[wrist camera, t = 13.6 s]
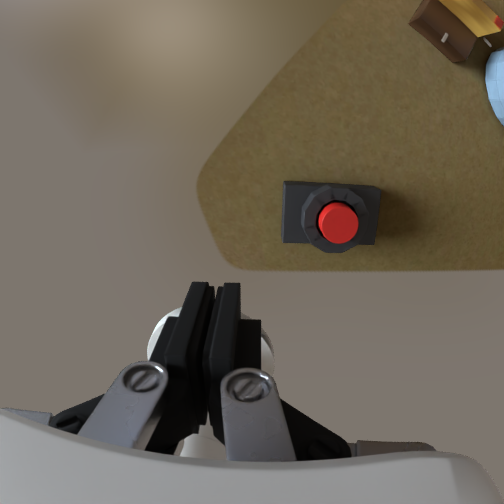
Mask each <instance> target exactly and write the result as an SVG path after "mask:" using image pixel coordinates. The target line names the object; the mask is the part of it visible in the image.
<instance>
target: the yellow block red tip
mask: <svg viewBox="0 0 504 504" xmlns="http://www.w3.org/2000/svg"><path fill="white" fill-rule="evenodd" d="M439 1H440V2H441V3H442V4H443V5H445V6H446V7H447V8H448V9H449V10H450V11H451V12H452V13H453V14H455V15H456V16H457V17H458V18H459V19H460V20H461V21H462V22H463V23H464V24H465V25H466V26H467V27H468V28H469V29H470V30H471V31H472V32H473V33H474V34H475V35H476V36H477V37H481V36H484V35H488V34H492V33H496V32H500V31H501V29H502V27H503V24H504V22H503V21H502V20H501V19H500V18H499V17H498V16H497V15H496V14H495V13H494V12H493V11H492V10H491V9H490V8H489V7H488V6H487V5H486V4H485V3H484V2H483V1H482V0H439Z"/></svg>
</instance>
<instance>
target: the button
mask: <svg viewBox="0 0 504 504" xmlns="http://www.w3.org/2000/svg"><path fill="white" fill-rule="evenodd" d="M318 224H319V228H320V230H321V231H322V233H323V235H324V236H325V238H326V239H327V240H329V241H330V242H333V243H337V244H341V243H345V242H347V241H349V240H351V239H352V238H353V237H354V236H355V234H356V232H357V230H358V224H359V223H358V218H357V215H356V214H355V212H354V211H353V210H352V209H351V208H349V207H348V206H347V205H346V204H343V203H340V202H334V203H331V204H328V205H327V206H325V207H324V208H323V209H322V211H321V212H320V214H319V218H318Z"/></svg>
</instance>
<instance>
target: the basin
mask: <svg viewBox="0 0 504 504" xmlns="http://www.w3.org/2000/svg"><path fill="white" fill-rule="evenodd" d="M485 82H486V87H487V92H488V97H489V101H490V103H491V105H492V108H493V110H494V112H495V115H496V117H497V118H498V119H499V121H500V122H501V123H502V125H503V126H504V47H501V48H499V49H497V50H495V51H494V52H492V53H491V55H490V57H489V59H488V61H487V64H486V76H485Z"/></svg>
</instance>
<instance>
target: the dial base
mask: <svg viewBox="0 0 504 504" xmlns="http://www.w3.org/2000/svg"><path fill="white" fill-rule="evenodd" d="M408 24H409V25H410V26H412V27H413V28H414V29H415V30H417V31H418V32H419V33H420V34H421V35H423V36H424V37H425V38H426V39H427V40H428V41H430V42H431V43H432V44H433V45H434V46H435V47H436V48H437V49H439V50H440V51H441V52H442V53H443V54H444V55H445V56H446V57H447V58H448V59H449V60H450V61H451V62H452V63H454V62H459V61H463V60H467V58H468V56H469V54H470V52H471V50H472V48H473V45H474V43H475V41H476V39H477V36H476V35H475V34H474V33H473V32H472V31H471V30H470V29H469V28H468V27H467V26H466V25H465V24H464V23H463V22H462V21H461V20H460V19H459V18H458V17H457V16H456V15H455V14H453V13H452V12H451V11H450V10H449V9H448V8H447V7H446V6H445V5H443V4H442V3H441V2H440V1H439V0H423V1H422V3H421V4H420V6H419V7H418V9H417V10H416V12H415V14H414V15H413V17H412V18H411V20H410V22H409V23H408ZM483 39H484V41H485V42H486V43H487V44H488V45H489V46H490V47H491V46H492V45H491V44H490V43H489V41H488V40H487V39H486V38H485V37H484V38H483Z"/></svg>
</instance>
